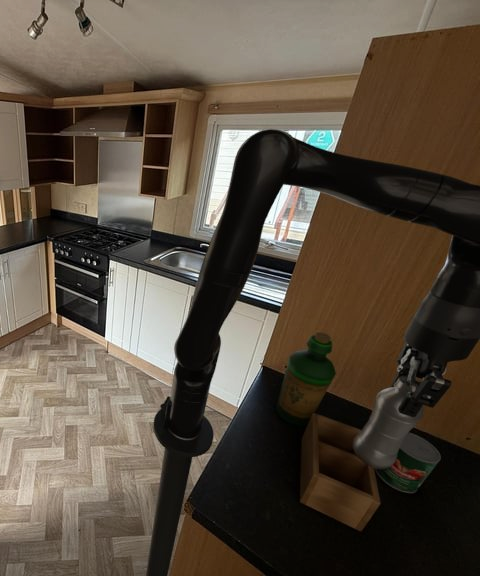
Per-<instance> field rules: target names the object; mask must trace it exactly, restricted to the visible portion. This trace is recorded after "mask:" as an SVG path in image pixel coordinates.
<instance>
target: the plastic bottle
mask: <svg viewBox="0 0 480 576" xmlns="http://www.w3.org/2000/svg"><path fill="white" fill-rule="evenodd" d="M407 378H408V376H400V377H399V378H398V380H397V382H395V384H394V387H392V388H391V387H387V388H384V389H382V390H381V391H379V392H378V393H377V395H376V397H375V400H374V404H373V408H372V410H371V413H370V416H369V418H368V421H367V422H366V423H365V425H364V426H363V427H362V429H361V430H362V431H360V432H359V433H358V434H357V435H356V437H355V438H354V441H353V449H354V452H355V454H356V455H357V457H358V458H359V459H360V460H361V461H363V462H364V463H365V464H367V465H369V466H371V467H373V468H374V469H375V468H376V469H388V468H390V467H391V466H392V465H393V464H394V463H395V461H396V458H397V454H398V450H399V448H400V445H401V443H402V441H403V439H404V438H405V436H406V435H407V434H408V432H409V433H410V431H411V430H412V429H414V428H415V426H416V425H417V424H419V422H420V421H421V420H422V419H423V417H424V415H425V414H424V413H425V412H424V411H425V409H424V407H423V406H424V405H423V406H422V407H421V409H420V411H419V412H418V414H417V415H416V417H410V416H407V415H404V414H401V413H400V412H399V410H398V408H399V406H400V404H401V403H402V401H403V399H404V397H405V396H406V394H407V392H408V389H409V385H410V384H409V383H408V382H407ZM415 379H416V378H415ZM416 380H417V381H419V380H418V378H417V379H416ZM418 387H419V386H417V387H416V389H417V388H418ZM415 391H416V390H415Z"/></svg>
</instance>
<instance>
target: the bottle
mask: <svg viewBox="0 0 480 576" xmlns="http://www.w3.org/2000/svg"><path fill="white" fill-rule="evenodd" d="M306 347H307V349H301V350H297V351H295V352H294V353H292V354H290V355H289V356H288V360H287V363H286V364H287V365H286V369H285V372H284V376H283V380H282V383H281V388H280V392H279V396H278V399H277V404H276V413H277V414H278V415H279V416H280V418H281V419H283V420H284V421H286V422H287V423H289V424H291V425H295V426H298V427H303V426H307V425H308V423H309V421H310V419H311V416H312V414H313V413H315V414H316V411H317V410H318V408H319V406H320V404H321V402H322V400H323V398H324V396H325V394H326V393H327V391H328V389H329V387H330V386H331V384H332V382H333V380H334V379H335V377H336V375H337V371H336V368H335V366H334V363H333V361H331V360H330V359H329V358H328V357H327V355H328V354H329V355H330V354H331V353H332V350H333V342H332V339H331V336H330V335H329V334H327V333H324V332H316V333H314V334H313V335H311V336H310V338H309V339H308V340H307V341H306Z"/></svg>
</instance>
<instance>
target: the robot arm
mask: <svg viewBox="0 0 480 576" xmlns="http://www.w3.org/2000/svg"><path fill="white" fill-rule="evenodd" d="M230 175H231V176H230V180H229V185H228V190H227V194H226V198H225V203H224V206H223V209H222V213H221V215H220V218H219V220H218V221H217V225H216V227H215V229H214V231H213V233H212V236H211V238H210V241H209V243H208V244H209V245H208V247H207V248H206V252H205V254H204V258H203V260H202V263H201V266H200V269H199V272H198V277H197V280H196V284H195V287H194V291H193V294H192V299H191V302H190V307H189V311H188V313H187V317H186V319H185V321H184V323H183V325H182V328H181V330H180V332H179V334H178V336H177V338H176V339H175V342H174V347H173V351H174V356H175V358H176V361H177V362H176V364H175V366H174V369H173V376H172V383H171V389H170V396H169V395H167V397H166V399H165V400H164V402H163V403H161V404H160V409H161V414H162V415H165V423H164V428H166V429H168V431H169V433H170V434H171V435H172V436H173V437H175V438H177V439H179V440H181V441H193V440H195V439H197V438H198V437H199V435H200V432H201V426H202V421H203V418H205V417H206V416H205V412H206V407H207V402H208V397H209V393H210V389H211V384H212V380H213V377H214V374H215V372H216V367H217V363H218V360H219V355H220V351H221V347H222V338H221V335H220V332H221V328H222V326H223V325H224V323H225V322H226V319H227V318H228V316H229V314H230V313H231V312H232V311H233V308H234V306H235V305H236V303H237V301H238V300H239V298H240V296H241V295H242V292H243V290H244V288H245V286H246V284H247V282H248V279H249V277H250V275H251V272H252V270H253V267H254V264H255V261H256V258H257V255H258V251H259V248H260V242H261V238H262V234H263V231H264V226H265V223H266V220H267V217H268V215H269V213H270V212H271V209H272V207H273V205H274V203H275V201H276V199H277V197H278V196H279V194H280V192H281V190H282V188H283V186H290V187H297V188H302V189H307V190H312V191H314V192H318V193H321V194H325V195H328V196H331V197H333V198H336V199H338V200H340V201H342V202H343V201H344V202H346V203H348V204H350V205H353V206H356V207H359V208H361V209H364V210H367V211H370V212H373V213H375V214H379V215H383V216H385V217H388V218H393V219H395V220H396V219H397V220H400V221H403V222H407V223H411V224H415V225H420V226H425V227H428V228H432V229H435V230H438V231H440V232H443V233H446V234H448V235H450V236H451V238H450V239H451V240H450V243H449V245H448V250H447V255H446V259H445V263H444V265H443V267H442V268H441V269H440V271H439V272H438V274H437V276H436V279H435V281H434V282H433V284H432V286H431V288H430V290H429V291H428V293H427V294H426V296H425V297H424V298H423V299H422V301H421V302H420V304H419V306H418V308H417V309H416V312H415V314H414V316H413V318H412V320H411V322H410V323H409V326H408V327H407V329H406V331H405V333H404V337H403V338H404V341H405V342H404V344H403V345H402V348H401V350H400V353H399V355H398V358H397V359H396V364H397V365H398V366H397V370H396V371H397V374H396V375H395V378H394V379H393V381H392V383H391V384H390V388H392V387H394V384H395V382H397V380H398V378H399V377H400V376H408V378H407V382H408V383H409V384H410V385H409V389H408V392H407V394H406V396H405V397H404V399H403V401H402V403H401V404H400V406H399V408H398V410H399V412H400V413H401V414H404V415H407V416H410V417H416V415H417V414H418V412H419V411H420V409H421V407H422V406H425V407H429V408H432V409H433V408H434V407H435V406H436V405H437V404H438V403H439V401H440V400H441V399H442V398H443V396H444V395H445V394H446V393H447V391H448V390H449V389H450V388H451V386H452V381H451V380H450V379H447V378H444V375H445V374H446V372H447V369H448V363H450V362H451V363H452V362H457V361H458V362H461V361H464V360H467V359H468V358H469V356H470V355H471V353H472V352H473V351H474V348H475V347H476V346H477V344H478V343H479V341H480V185H479V184H475V183H470V182H467V181H464V180H462V179H459V178H456V177H453V176H450V175H447V174H442V173H438V172H434V171H429V170H424V169H420V168H415V167H411V166H407V165H403V164H402V165H401V164H396V163H390V162H384V161H377V160H374V159H366V158H361V157H357V156H351V155H346V154H342V153H337V152H333V151H330V150H326V149H324V148H321V147H318V146H315V145H313V144H310V143H308V142H305V141H303V140H301V139H298V138H296V137H293V135H292V134H291V133H289V132H287V131H285V130H281V129H277V128H276V129H274V128H268V129H263V130H259V131H257V132H256V133H253V134H251V135H250V136H249V137H247V138H246V139H245V140H244V141H243V143H242V144H241V145H240V147H239V148H238V150H237V152H236V155H235V158H234V162H233V165H232V171H231V174H230ZM416 378H417V380H418V379H420V380H422V381H420V380H418V381H417V380H416ZM417 386H419V387H418V388H417V389H416V387H417ZM415 390H416V391H415Z"/></svg>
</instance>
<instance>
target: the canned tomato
mask: <svg viewBox="0 0 480 576" xmlns="http://www.w3.org/2000/svg"><path fill="white" fill-rule="evenodd" d="M441 459H442V456H441V454H440V452H439V450H438V449H437V447H435V446H434V445H433V444H432V442H429V441H428V440H426V439H425V438H424V437H421V436H419V435H417V434H415V433H412V432H410V431H409V432H408V434H407V435H406V436H405V438H404V439H403V441H402V443H401V445H400V448H399V450H398V454H397V458H396V461H395V463H394V464H393V465H392V466H391V467H390V468H388V469H376V468H374V471H375V473H376V474H377V476H378V477H379V478H380V479H381V480H382V481H383V482H384V483H385V484H387V485H388V486H389V487H391V488H392V489H394V490H397V491H399V492H401V493H405V494H414V493H416V492H418V490H419V488H420V487H421V486H422V484H423V483H424V482H425V480H426V479H427V478H428V476H429V475H430V473H432V471H434V469H435V468H436V466H437V465H438V463H439V462H440V461H441Z"/></svg>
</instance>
